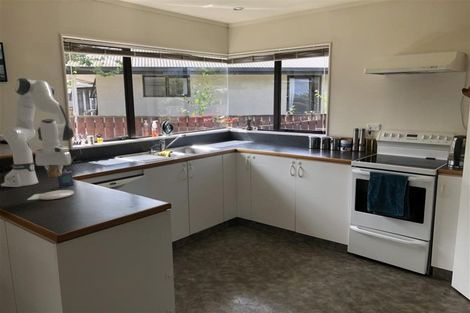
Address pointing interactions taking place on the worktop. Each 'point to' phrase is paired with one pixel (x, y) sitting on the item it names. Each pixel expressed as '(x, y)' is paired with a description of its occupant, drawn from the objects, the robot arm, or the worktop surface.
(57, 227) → the worktop surface
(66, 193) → the plate
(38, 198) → the napkin
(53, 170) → the block
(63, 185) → the flask
